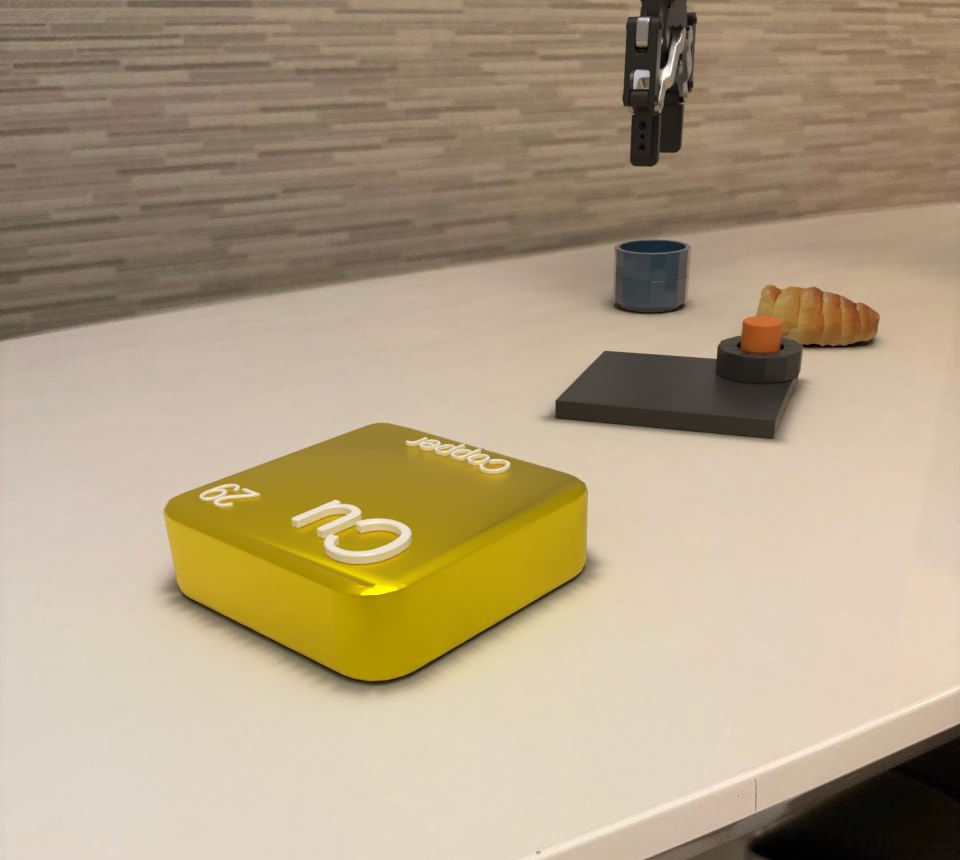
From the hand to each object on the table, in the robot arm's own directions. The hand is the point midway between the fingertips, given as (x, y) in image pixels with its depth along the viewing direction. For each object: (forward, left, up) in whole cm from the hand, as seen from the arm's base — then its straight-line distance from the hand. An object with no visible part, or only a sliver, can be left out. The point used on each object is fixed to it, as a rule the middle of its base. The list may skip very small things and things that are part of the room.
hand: (656, 158), depth 90 cm
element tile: (0, +55, -12) cm, 56 cm away
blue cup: (0, 0, -12) cm, 12 cm away
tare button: (-13, +22, -9) cm, 27 cm away
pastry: (-14, +7, -12) cm, 20 cm away
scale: (-8, +25, -12) cm, 29 cm away
